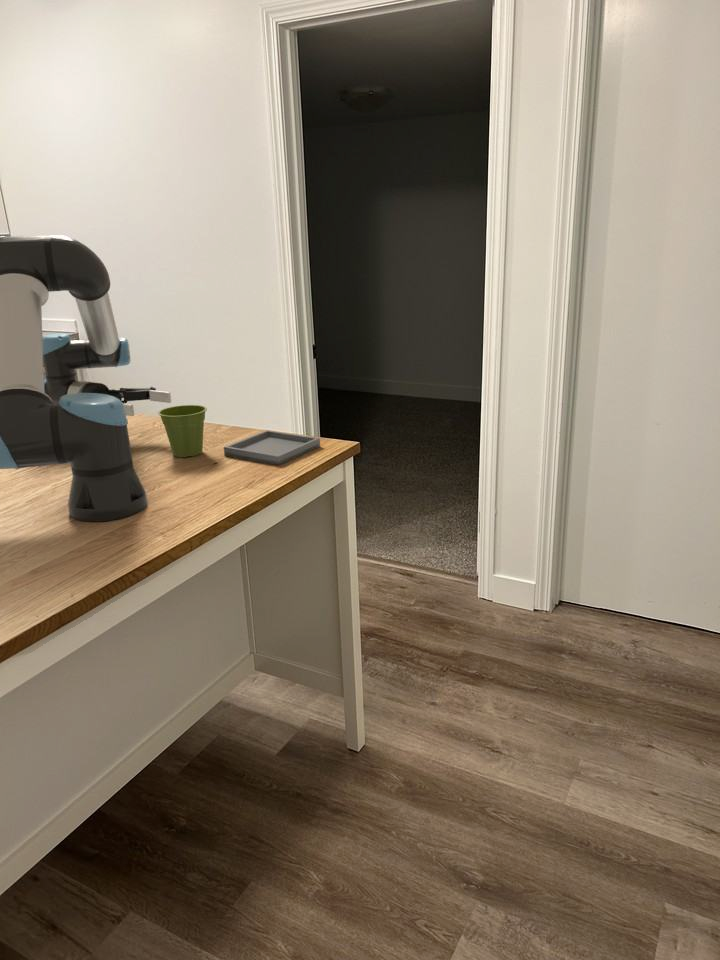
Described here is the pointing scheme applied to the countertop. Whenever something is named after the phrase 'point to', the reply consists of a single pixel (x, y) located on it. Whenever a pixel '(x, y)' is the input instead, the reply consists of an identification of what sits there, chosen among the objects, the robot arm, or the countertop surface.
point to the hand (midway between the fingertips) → (151, 403)
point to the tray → (272, 447)
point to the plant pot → (184, 428)
